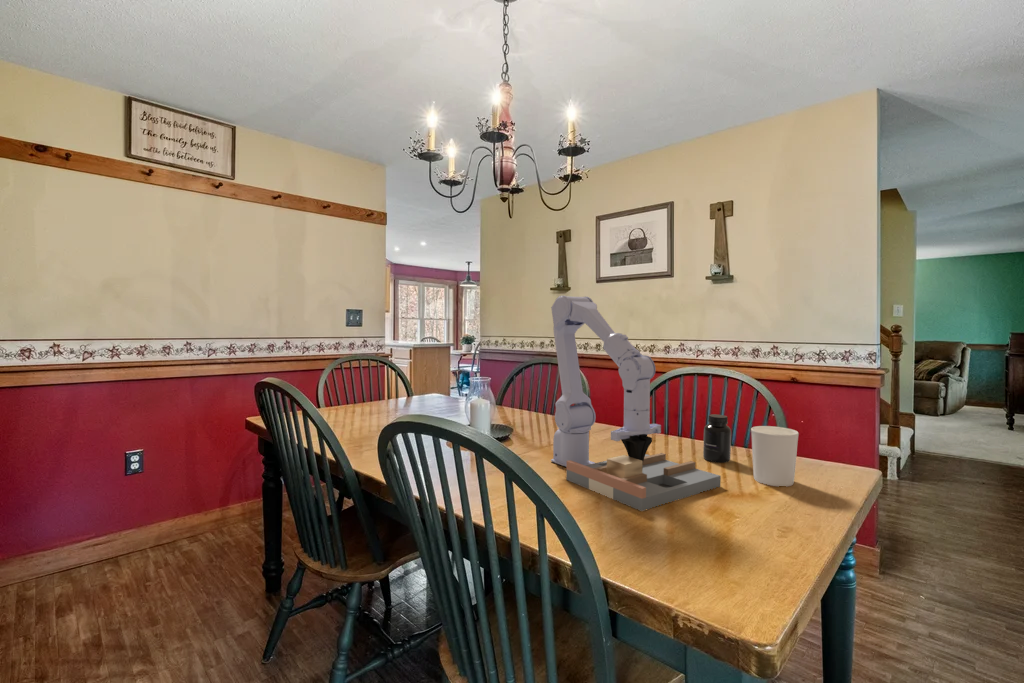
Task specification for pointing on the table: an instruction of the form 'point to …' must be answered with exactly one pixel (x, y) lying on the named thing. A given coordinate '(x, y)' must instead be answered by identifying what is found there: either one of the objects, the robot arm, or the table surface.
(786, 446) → the candle holder
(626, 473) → the maple block
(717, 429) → the supplement bottle
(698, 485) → the board
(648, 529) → the table surface
